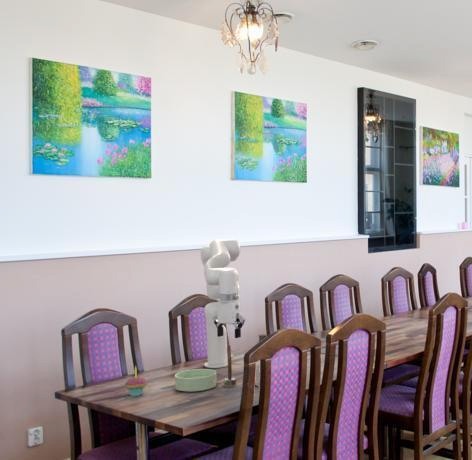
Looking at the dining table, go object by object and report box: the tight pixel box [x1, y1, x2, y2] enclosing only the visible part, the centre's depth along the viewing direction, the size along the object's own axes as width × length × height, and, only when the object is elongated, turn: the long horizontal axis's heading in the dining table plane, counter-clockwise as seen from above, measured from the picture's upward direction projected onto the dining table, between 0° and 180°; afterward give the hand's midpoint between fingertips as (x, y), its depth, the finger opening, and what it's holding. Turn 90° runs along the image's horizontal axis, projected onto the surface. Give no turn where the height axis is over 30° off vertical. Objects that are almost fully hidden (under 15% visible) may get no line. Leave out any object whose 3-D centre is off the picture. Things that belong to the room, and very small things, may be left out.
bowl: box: [174, 368, 218, 393], centre depth 279 cm, size 17×17×6 cm
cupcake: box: [124, 364, 148, 397], centre depth 269 cm, size 9×8×12 cm
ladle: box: [223, 344, 237, 388], centre depth 281 cm, size 5×5×18 cm
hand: (229, 336), depth 280 cm, fingers open, 9 cm apart
